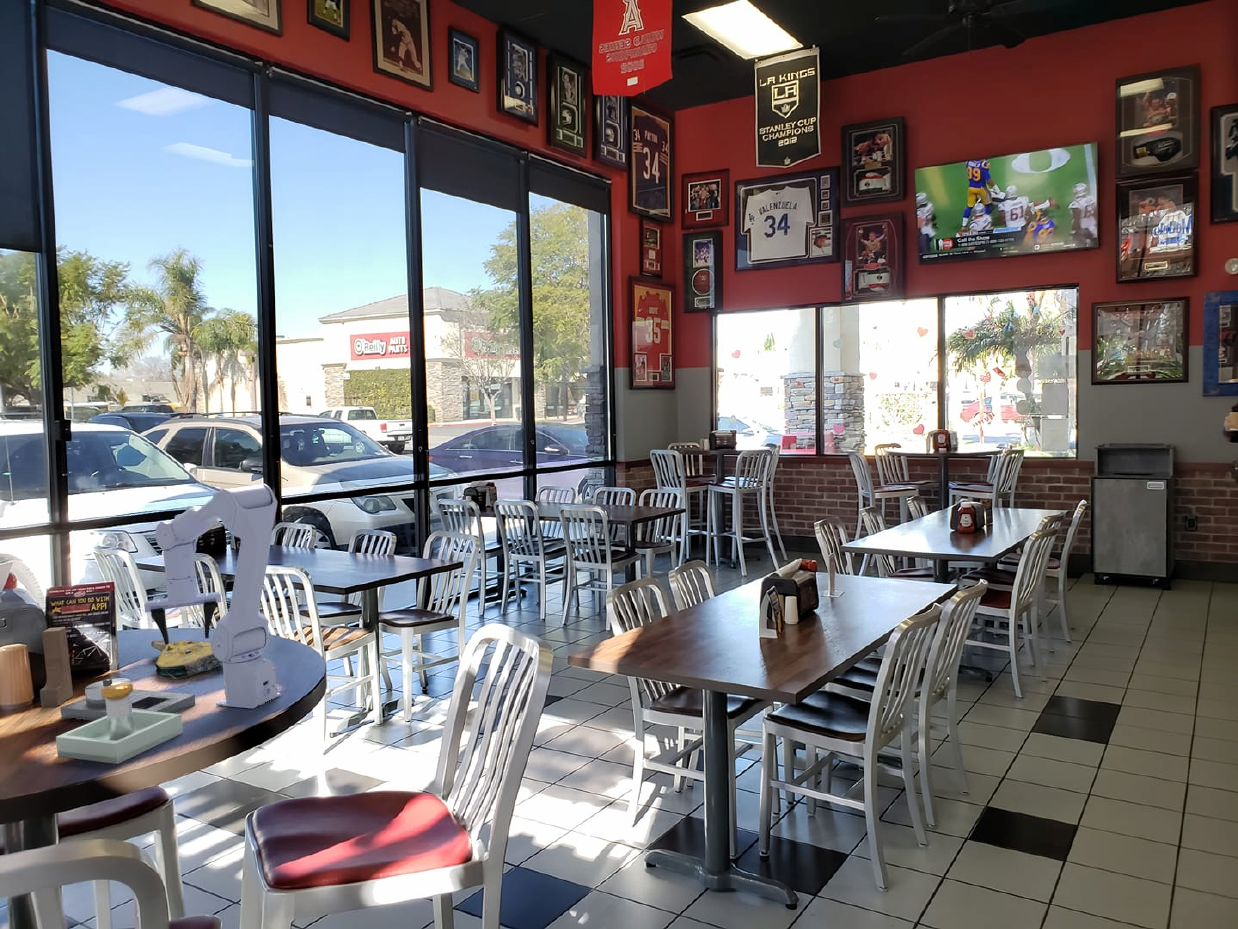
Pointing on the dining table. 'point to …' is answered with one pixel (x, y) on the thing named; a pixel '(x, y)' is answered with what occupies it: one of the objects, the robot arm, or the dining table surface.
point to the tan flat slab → (184, 658)
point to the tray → (99, 747)
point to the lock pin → (119, 710)
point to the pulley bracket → (140, 699)
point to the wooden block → (56, 668)
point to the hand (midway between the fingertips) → (187, 640)
